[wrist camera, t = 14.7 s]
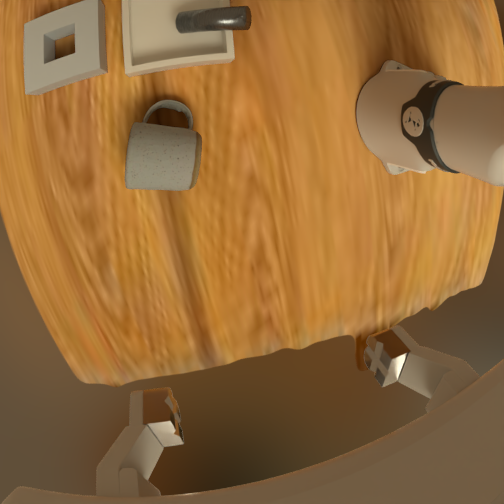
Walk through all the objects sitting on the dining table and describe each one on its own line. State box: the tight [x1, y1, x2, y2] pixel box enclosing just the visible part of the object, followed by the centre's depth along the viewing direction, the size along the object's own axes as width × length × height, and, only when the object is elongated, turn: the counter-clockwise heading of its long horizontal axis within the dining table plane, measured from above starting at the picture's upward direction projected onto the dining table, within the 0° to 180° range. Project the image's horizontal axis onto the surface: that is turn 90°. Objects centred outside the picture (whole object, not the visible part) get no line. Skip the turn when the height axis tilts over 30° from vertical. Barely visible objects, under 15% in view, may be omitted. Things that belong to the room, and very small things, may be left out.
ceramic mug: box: [125, 100, 202, 191], centre depth 31 cm, size 11×8×8 cm
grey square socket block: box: [24, 0, 108, 95], centre depth 24 cm, size 10×10×4 cm
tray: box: [122, 0, 235, 77], centre depth 27 cm, size 13×13×3 cm
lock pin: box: [176, 6, 251, 34], centre depth 26 cm, size 3×3×8 cm
